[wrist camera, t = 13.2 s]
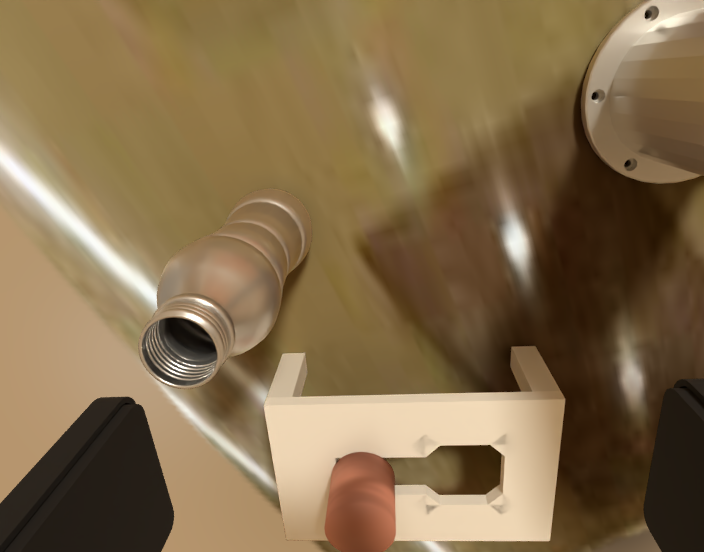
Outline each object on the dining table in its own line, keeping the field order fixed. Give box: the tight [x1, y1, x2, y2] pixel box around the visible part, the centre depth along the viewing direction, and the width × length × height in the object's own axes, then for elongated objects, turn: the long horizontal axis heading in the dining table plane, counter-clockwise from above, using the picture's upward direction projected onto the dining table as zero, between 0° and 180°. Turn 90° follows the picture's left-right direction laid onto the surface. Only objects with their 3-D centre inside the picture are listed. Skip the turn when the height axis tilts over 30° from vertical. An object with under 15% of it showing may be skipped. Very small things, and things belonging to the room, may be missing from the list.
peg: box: [324, 452, 396, 552], centre depth 39 cm, size 5×5×11 cm
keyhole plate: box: [264, 346, 565, 541], centre depth 42 cm, size 22×14×8 cm, turn 94°
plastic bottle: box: [138, 189, 312, 389], centre depth 30 cm, size 6×7×20 cm
